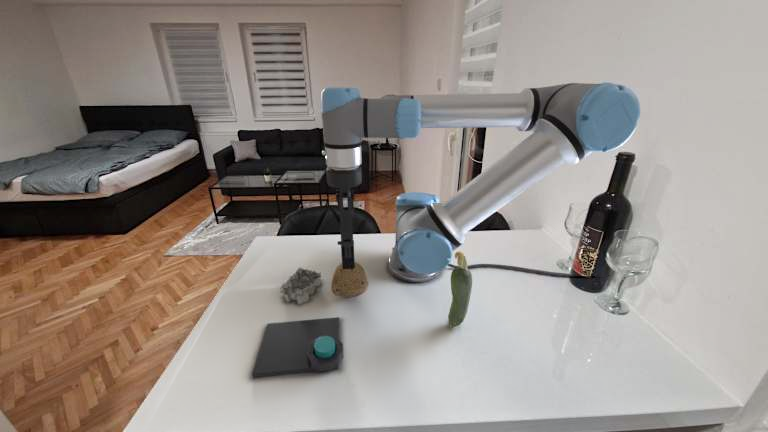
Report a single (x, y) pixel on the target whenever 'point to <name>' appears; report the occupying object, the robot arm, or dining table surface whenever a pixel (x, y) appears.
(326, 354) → the tare button
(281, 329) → the scale
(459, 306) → the vegetable
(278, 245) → the dining table surface
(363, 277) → the natural sponge
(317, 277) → the grey rock
